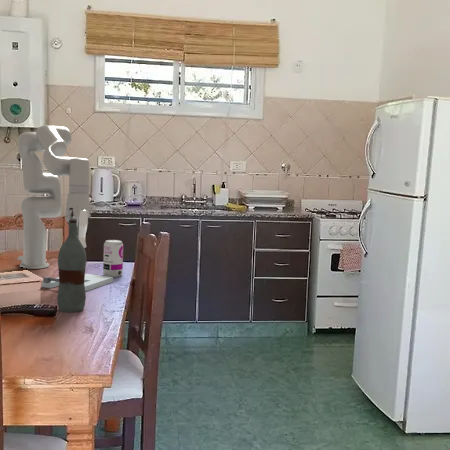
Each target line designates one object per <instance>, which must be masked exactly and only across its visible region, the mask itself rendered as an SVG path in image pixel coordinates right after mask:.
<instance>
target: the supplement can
mask: <svg viewBox="0 0 450 450" xmlns="http://www.w3.org/2000/svg"><path fill="white" fill-rule="evenodd" d="M123 260H124V244H123V241H122V240H119V239H108V240H105V242H104V243H103V263H102V265H103V266H102V267H103V269H102V271H103V272H102V275H103V276H108V277H113V278H119V277H121V276H122V275H123V274H124V273H123V269H124V267H123V266H124V263H123V262H124V261H123Z"/></svg>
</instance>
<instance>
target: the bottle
mask: <svg viewBox="0 0 450 450" xmlns="http://www.w3.org/2000/svg"><path fill="white" fill-rule="evenodd" d="M86 266H87V252H86V249H85V248H84V247H83V245H82V243H81V242H80V240H79V239H78V237H77V220H76V219H69V226H68V235H67V237H66V239H65V241H64V242H63V243H62V245H61V246H60V248H59V251H58V256H57V267H58V268H57V269H58V277H59V286H58V288H57V289H58V290H57V297H56V300H57V307H58V310H59V311H60V312H63V313H77V312H81V311H83V310H84V308H85V305H86V300H87V295H86V292H85V285H84V279H85V273H86V269H87V268H86Z"/></svg>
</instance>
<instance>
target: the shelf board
mask: <svg viewBox="0 0 450 450" xmlns="http://www.w3.org/2000/svg"><path fill="white" fill-rule="evenodd" d="M42 278H43V280H42V282H41V288H45V289H46V288H47V289H52V288H53V289H54V288H56V287H59V276H58V277H51V276H43V277H42ZM111 283H114V277H108V276H105V275H99V274H92V273H86V272H85V279H84V285H85V293H86V292H88V291H91V290H94V289H97V288H99V287H103V286H105V285H109V284H111Z"/></svg>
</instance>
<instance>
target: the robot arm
mask: <svg viewBox="0 0 450 450" xmlns="http://www.w3.org/2000/svg"><path fill="white" fill-rule="evenodd" d="M71 142H72V133H71V131H70V130H69V128H68V127H66V126H61V125H51V124H49V125H48V124H47V125H45V124H44V125H41V126H39V127H38V128H37V129H36V131H25V132H23V133H20V135H19V136H18V139H17V150H18V153H19V156H20V160H21V164H22V177H23V178H22V180H23V181H22V182H23V188H24V191H25V192H26V193H28V194H40V195H41V194H42V195H43V194H46V195H47V196H29V197H25V198H23V200H22V201H21V206H20V207H21V214H22V221H23V222H22V223H23V227H22V228H23V242H22V243H23V246H22V247H23V248H22V250H23V255H19V256H18V257H17V258H16V259H17V261H21V263H20V264H19V268H21V267H23V268H22V269H26V268H27V269H28V270H37V269H38V270H39V269H47V268H48V267H50V263H49V262H47V259H46V258H47V257H46V255H47V254H46V253H47V251H46V248H47V245H46V244H47V237H46V236H47V228H46V225H45V223H44V222H43V221H42V219H44V218H45V219H48V218H57V217H59V216H61V214H62V211H63V203H62V202H63V201H62V186H61V185H62V183H61V180H60V178H59V176H60V177H68V194H67V197H66V204H65V205H66V208H65V220H66V223H67V226H68V227H69V219H74V218H75V219H76V220H78V219H79V216H80V211H81V210H87V212H88V222H89V221H90V218H91V216H92V213H91V209H90V208H91V206H90V205H91V204H90V160H89V159H88V158H82V157H75V156H73V157H71V156H63V155H65V154H66V152H67V149H68V146H69V145H70V144H71ZM37 152H38V153H39V152H40V153H42V159H41V158H40V156H39V155H38V154H37ZM43 167H44V168H45V169H46V170H47V171H48V172H44V169H43ZM72 215H74V218H72ZM88 225H89V224H88ZM88 225H87V227H88ZM86 236H88V229H87V230H86Z"/></svg>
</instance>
